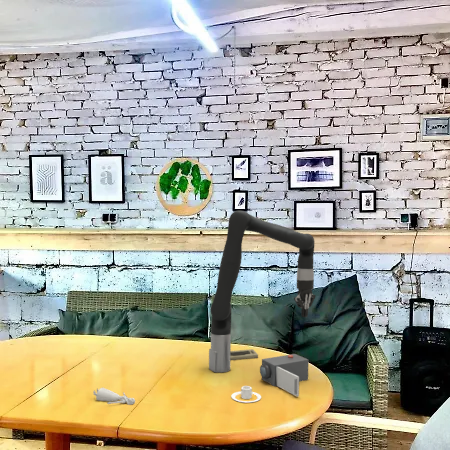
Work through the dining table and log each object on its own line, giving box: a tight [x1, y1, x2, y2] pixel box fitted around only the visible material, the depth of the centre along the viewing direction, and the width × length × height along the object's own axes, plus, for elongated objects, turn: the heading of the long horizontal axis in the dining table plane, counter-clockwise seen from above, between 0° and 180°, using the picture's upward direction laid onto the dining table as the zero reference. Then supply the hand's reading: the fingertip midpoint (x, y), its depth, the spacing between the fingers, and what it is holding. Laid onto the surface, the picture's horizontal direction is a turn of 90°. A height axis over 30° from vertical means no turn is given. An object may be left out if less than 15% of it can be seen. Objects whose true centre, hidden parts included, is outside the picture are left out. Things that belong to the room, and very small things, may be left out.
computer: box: [230, 349, 259, 361], centre depth 256 cm, size 16×8×3 cm, turn 108°
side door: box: [275, 366, 300, 397], centre depth 208 cm, size 15×2×8 cm, turn 29°
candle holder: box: [231, 385, 262, 404], centre depth 202 cm, size 12×12×4 cm
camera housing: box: [259, 353, 309, 387], centre depth 222 cm, size 20×10×10 cm, turn 119°
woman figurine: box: [93, 387, 136, 406], centre depth 197 cm, size 12×4×18 cm
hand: (304, 316), depth 226 cm, fingers closed
